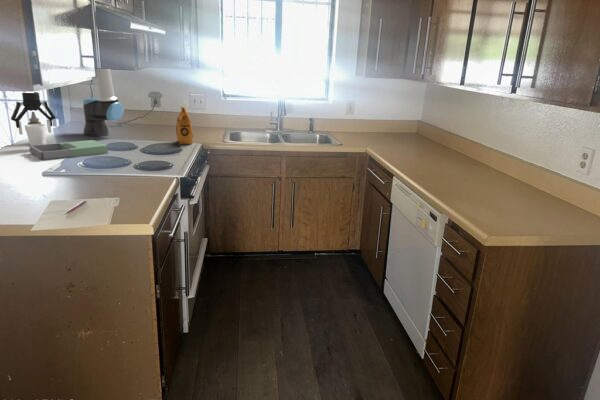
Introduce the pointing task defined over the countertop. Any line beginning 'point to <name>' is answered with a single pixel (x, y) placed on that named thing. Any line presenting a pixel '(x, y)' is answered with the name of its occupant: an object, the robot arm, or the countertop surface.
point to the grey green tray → (68, 149)
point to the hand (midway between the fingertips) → (35, 133)
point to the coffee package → (184, 128)
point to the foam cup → (36, 134)
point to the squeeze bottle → (34, 119)
